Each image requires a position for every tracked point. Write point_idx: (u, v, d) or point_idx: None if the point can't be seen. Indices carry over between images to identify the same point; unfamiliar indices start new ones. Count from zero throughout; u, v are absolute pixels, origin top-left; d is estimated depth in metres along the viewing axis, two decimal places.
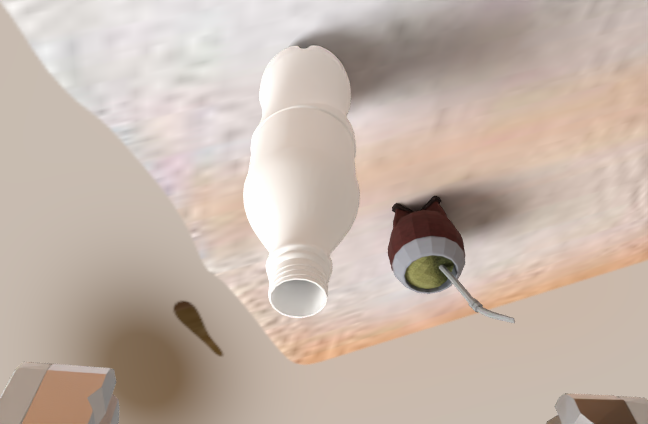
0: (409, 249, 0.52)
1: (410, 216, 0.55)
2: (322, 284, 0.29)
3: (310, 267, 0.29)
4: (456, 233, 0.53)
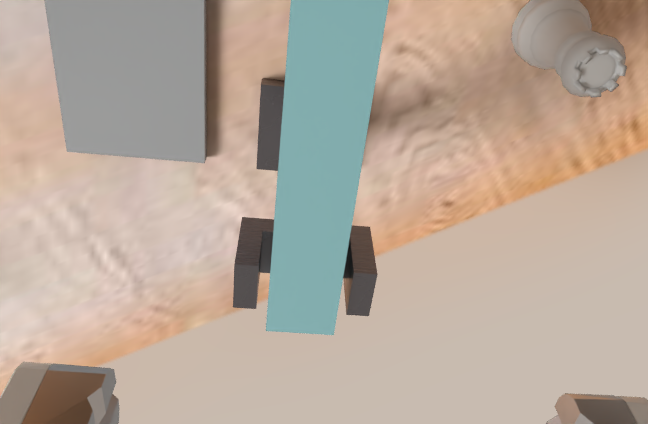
0: None
1: None
2: None
3: None
4: None
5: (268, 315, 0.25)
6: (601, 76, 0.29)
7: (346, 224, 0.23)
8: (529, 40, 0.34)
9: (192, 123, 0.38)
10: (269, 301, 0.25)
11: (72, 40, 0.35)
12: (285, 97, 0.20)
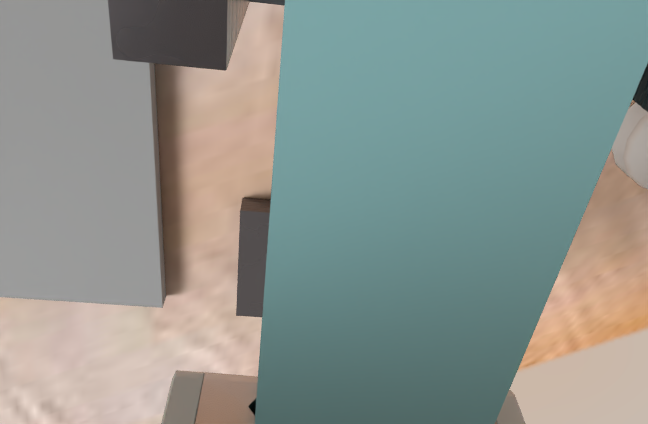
0: None
1: None
2: None
3: None
4: None
5: None
6: None
7: None
8: (646, 157, 0.22)
9: (142, 259, 0.26)
10: None
11: None
12: None
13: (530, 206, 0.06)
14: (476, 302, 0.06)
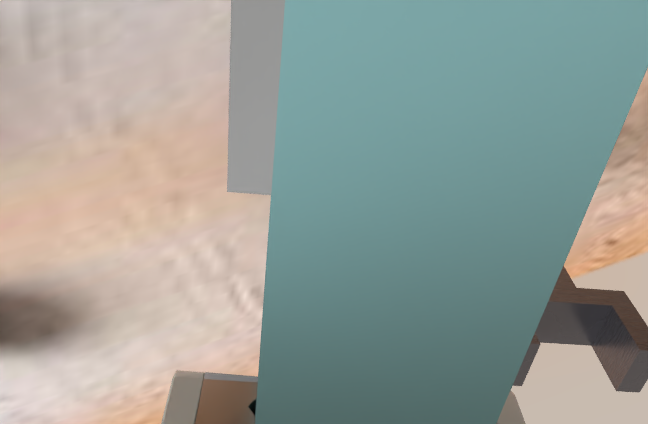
0: None
1: None
2: None
3: None
4: None
5: None
6: None
7: None
8: None
9: None
10: None
11: (252, 78, 0.32)
12: None
13: (530, 210, 0.06)
14: (476, 306, 0.06)
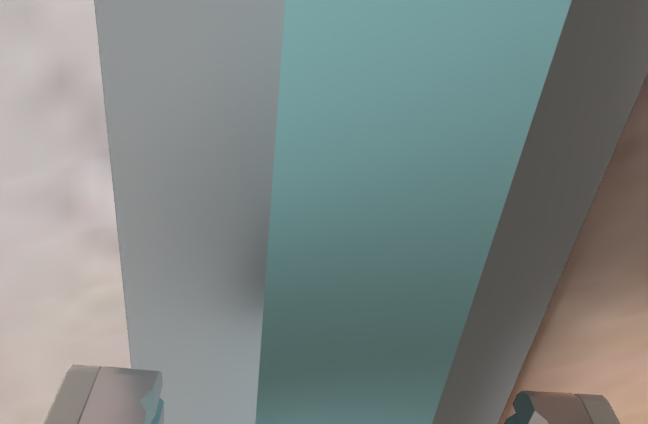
0: None
1: None
2: None
3: None
4: None
5: None
6: None
7: None
8: None
9: None
10: None
11: (188, 410, 0.14)
12: (261, 398, 0.10)
13: (482, 134, 0.07)
14: (443, 218, 0.08)
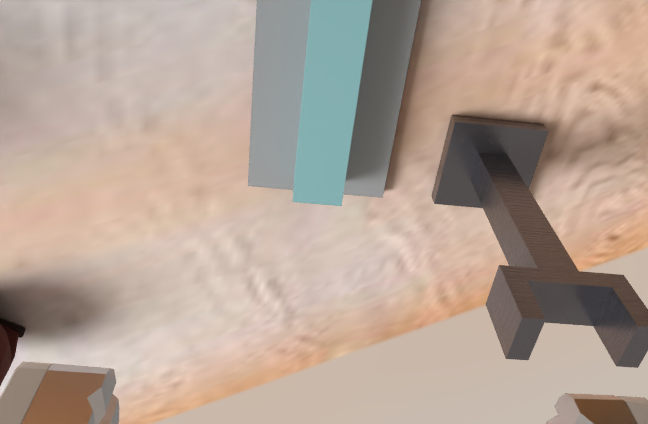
0: None
1: None
2: None
3: None
4: None
5: (295, 189, 0.35)
6: None
7: (351, 116, 0.33)
8: None
9: (378, 159, 0.38)
10: (296, 177, 0.35)
11: (274, 78, 0.35)
12: (311, 20, 0.30)
13: None
14: None
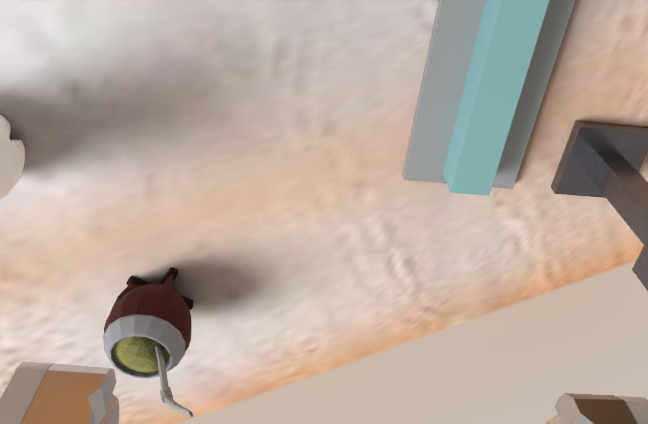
0: (112, 329, 0.46)
1: (131, 291, 0.50)
2: None
3: None
4: (173, 310, 0.48)
5: (454, 181, 0.44)
6: None
7: (508, 123, 0.41)
8: None
9: (513, 157, 0.46)
10: (456, 172, 0.43)
11: (439, 92, 0.43)
12: (489, 49, 0.38)
13: None
14: None
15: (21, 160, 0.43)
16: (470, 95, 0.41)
